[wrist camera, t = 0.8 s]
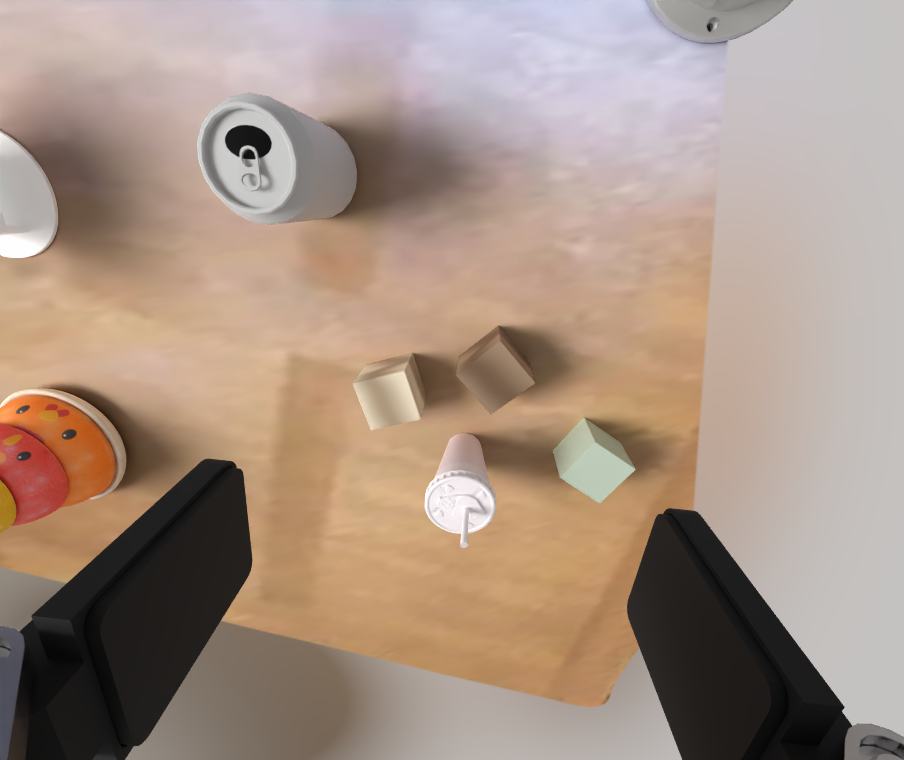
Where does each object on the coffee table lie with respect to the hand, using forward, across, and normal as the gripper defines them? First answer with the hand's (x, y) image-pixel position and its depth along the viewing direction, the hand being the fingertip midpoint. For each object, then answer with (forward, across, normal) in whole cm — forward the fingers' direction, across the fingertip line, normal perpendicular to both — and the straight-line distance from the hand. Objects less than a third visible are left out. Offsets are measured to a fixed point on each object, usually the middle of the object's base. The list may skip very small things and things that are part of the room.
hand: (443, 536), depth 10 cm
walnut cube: (+32, -3, +6) cm, 33 cm away
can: (+32, +14, -9) cm, 36 cm away
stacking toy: (+34, +43, +22) cm, 59 cm away
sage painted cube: (+32, -14, +15) cm, 39 cm away
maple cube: (+33, +6, +10) cm, 35 cm away
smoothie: (+33, -2, +17) cm, 37 cm away
